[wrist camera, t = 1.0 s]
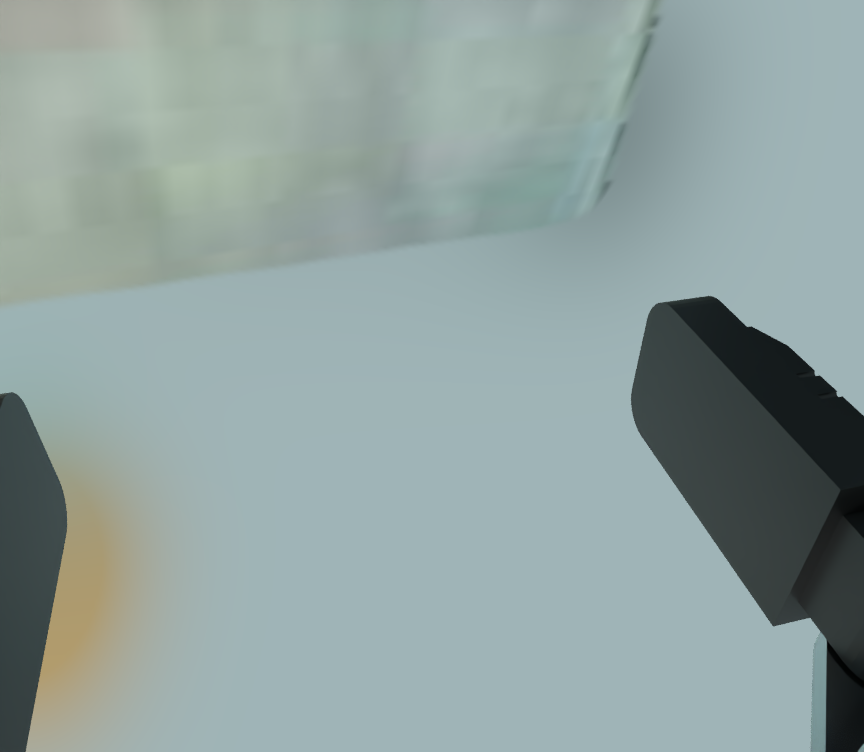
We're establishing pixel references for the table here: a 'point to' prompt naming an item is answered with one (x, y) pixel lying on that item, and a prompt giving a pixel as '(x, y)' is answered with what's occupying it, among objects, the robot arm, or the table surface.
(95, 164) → the table surface
